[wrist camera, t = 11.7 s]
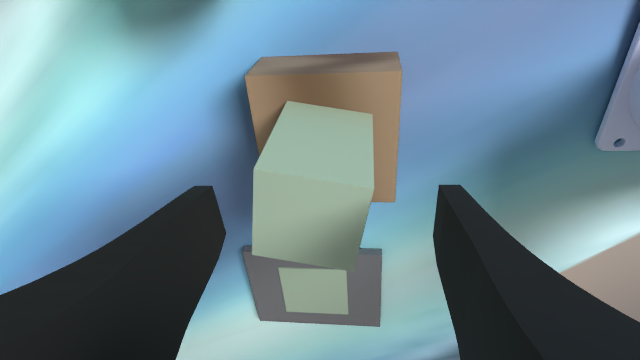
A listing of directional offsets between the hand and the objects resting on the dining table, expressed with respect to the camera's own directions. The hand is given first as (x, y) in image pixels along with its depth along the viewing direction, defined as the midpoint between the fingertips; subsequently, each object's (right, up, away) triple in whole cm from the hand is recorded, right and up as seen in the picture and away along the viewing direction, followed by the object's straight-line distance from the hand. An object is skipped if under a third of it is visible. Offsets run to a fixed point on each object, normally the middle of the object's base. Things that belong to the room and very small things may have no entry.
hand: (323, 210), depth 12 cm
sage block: (0, +3, +6) cm, 7 cm away
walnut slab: (+1, +5, +9) cm, 10 cm away
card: (0, -7, +17) cm, 18 cm away
